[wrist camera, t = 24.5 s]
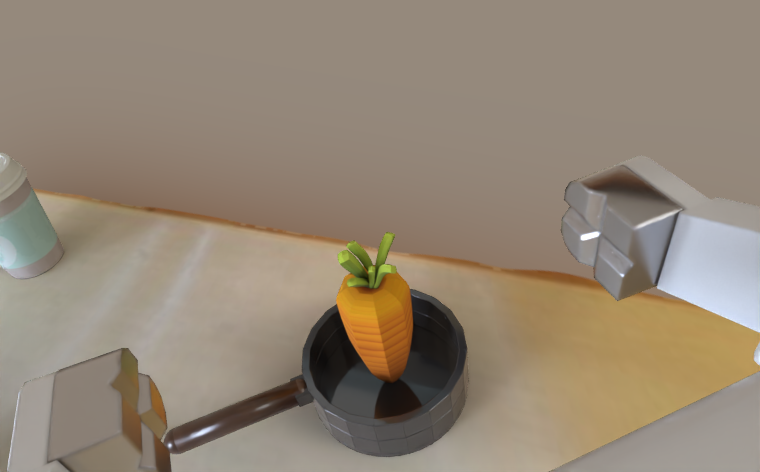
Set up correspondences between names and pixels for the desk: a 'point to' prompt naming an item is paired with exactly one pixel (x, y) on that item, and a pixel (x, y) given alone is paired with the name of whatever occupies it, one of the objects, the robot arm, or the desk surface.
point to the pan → (389, 400)
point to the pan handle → (238, 416)
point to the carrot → (376, 310)
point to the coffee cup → (24, 225)
